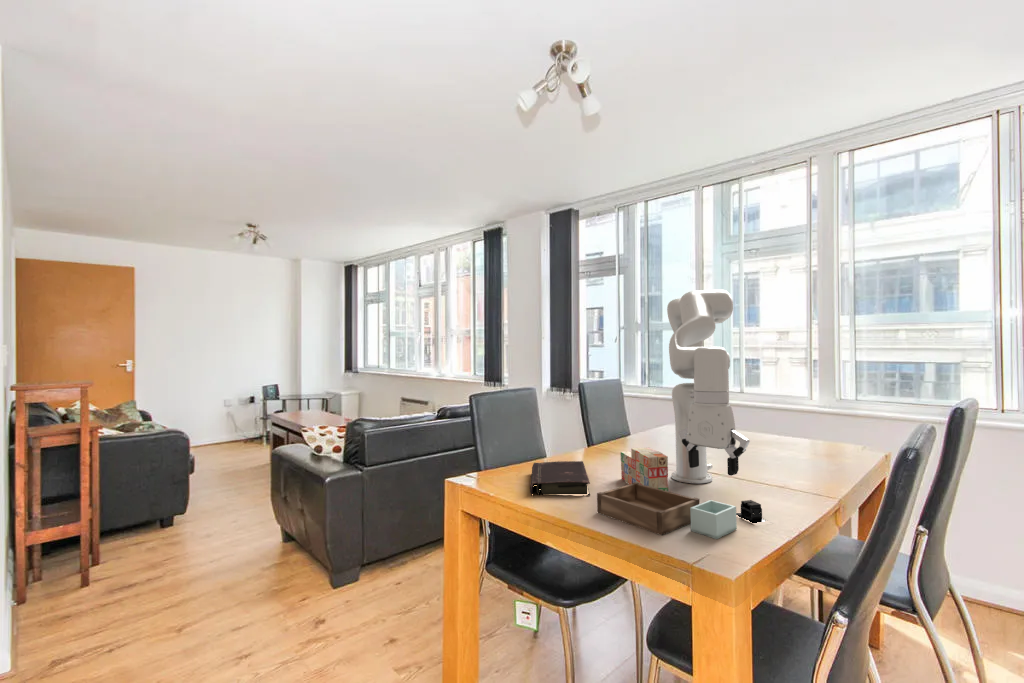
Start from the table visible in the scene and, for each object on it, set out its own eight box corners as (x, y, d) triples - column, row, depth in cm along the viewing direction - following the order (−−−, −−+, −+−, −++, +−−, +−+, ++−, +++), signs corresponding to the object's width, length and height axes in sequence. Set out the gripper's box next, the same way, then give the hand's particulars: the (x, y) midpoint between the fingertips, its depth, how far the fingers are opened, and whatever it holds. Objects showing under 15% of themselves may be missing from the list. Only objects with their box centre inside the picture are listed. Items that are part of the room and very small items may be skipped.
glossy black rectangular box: (723, 513, 127) (723, 496, 127) (747, 511, 128) (746, 494, 128) (757, 531, 115) (756, 511, 115) (783, 528, 116) (782, 509, 116)
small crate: (711, 522, 119) (710, 499, 119) (736, 529, 114) (736, 506, 114) (690, 530, 114) (690, 507, 114) (716, 539, 109) (716, 514, 109)
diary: (530, 498, 142) (529, 481, 143) (532, 476, 167) (531, 461, 167) (593, 497, 141) (592, 480, 141) (585, 475, 166) (585, 460, 166)
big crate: (635, 500, 137) (635, 482, 137) (699, 519, 121) (699, 498, 121) (597, 512, 127) (597, 493, 127) (662, 535, 111) (661, 512, 111)
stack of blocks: (620, 479, 159) (620, 442, 159) (638, 478, 160) (637, 441, 160) (648, 499, 138) (647, 456, 138) (668, 498, 139) (668, 455, 139)
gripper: (670, 397, 119) (671, 466, 118) (739, 402, 105) (741, 480, 105) (687, 395, 123) (688, 462, 123) (755, 399, 110) (757, 475, 109)
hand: (712, 470), depth 114 cm, fingers open, 9 cm apart
